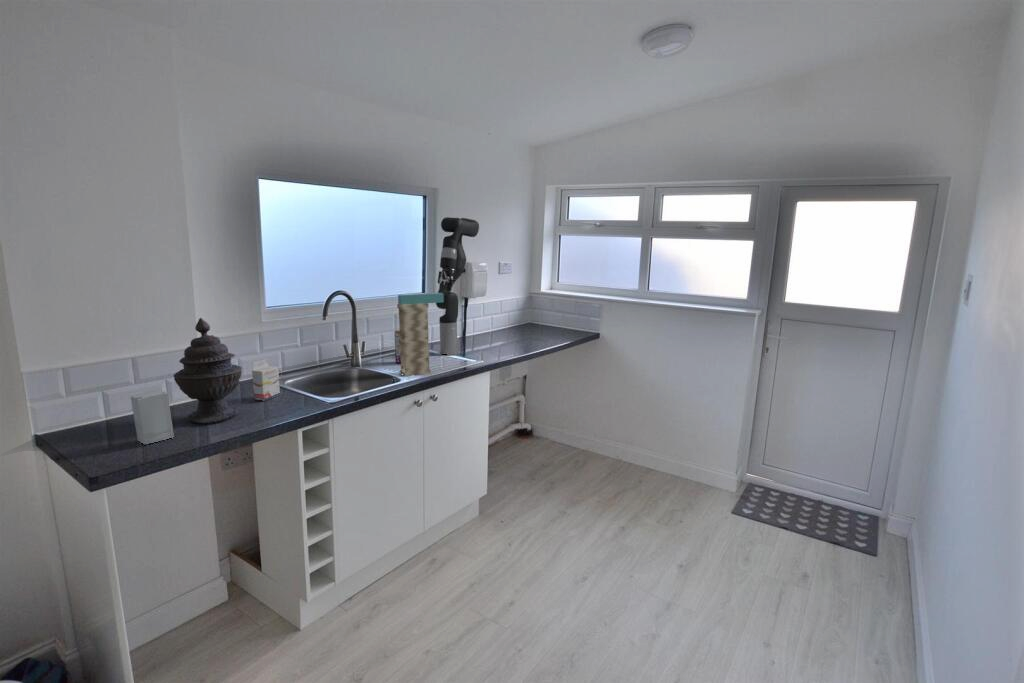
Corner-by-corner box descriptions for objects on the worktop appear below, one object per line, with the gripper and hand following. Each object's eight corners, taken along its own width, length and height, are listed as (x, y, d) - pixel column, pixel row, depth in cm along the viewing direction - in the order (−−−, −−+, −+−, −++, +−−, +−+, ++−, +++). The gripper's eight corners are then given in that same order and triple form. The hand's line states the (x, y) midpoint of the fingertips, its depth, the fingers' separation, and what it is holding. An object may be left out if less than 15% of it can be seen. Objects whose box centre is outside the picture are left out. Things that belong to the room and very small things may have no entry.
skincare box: (167, 434, 167) (161, 388, 164) (175, 439, 164) (169, 391, 161) (136, 442, 161) (129, 394, 158) (143, 447, 157) (136, 398, 154)
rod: (440, 301, 248) (440, 292, 247) (443, 302, 245) (443, 293, 244) (398, 304, 238) (398, 295, 238) (401, 304, 235) (400, 295, 234)
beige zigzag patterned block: (425, 370, 251) (422, 302, 245) (430, 373, 245) (428, 303, 239) (400, 373, 245) (397, 303, 240) (405, 376, 239) (402, 305, 234)
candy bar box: (395, 363, 266) (393, 330, 263) (398, 361, 270) (397, 329, 268) (417, 363, 264) (416, 331, 262) (420, 361, 269) (418, 329, 266)
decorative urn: (237, 423, 175) (220, 317, 170) (170, 431, 172) (151, 323, 167) (256, 408, 195) (242, 312, 190) (197, 414, 192) (180, 317, 187)
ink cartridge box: (264, 402, 202) (261, 363, 199) (254, 400, 203) (250, 362, 200) (281, 396, 209) (278, 359, 207) (271, 394, 211) (267, 358, 208)
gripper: (462, 258, 255) (458, 291, 254) (449, 261, 267) (445, 293, 266) (447, 254, 251) (444, 289, 250) (435, 258, 263) (431, 291, 262)
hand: (444, 291), depth 258 cm, fingers open, 8 cm apart
